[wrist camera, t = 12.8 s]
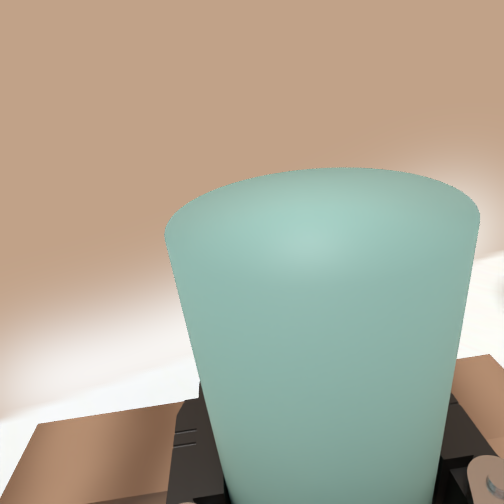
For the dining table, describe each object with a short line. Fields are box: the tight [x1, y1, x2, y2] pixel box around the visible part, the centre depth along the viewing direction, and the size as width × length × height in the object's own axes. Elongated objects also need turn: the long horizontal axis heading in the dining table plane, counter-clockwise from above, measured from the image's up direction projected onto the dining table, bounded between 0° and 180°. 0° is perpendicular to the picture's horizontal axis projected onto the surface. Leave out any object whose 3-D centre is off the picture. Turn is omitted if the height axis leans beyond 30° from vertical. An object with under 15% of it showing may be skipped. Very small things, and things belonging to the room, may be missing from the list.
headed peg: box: [164, 168, 480, 504], centre depth 10 cm, size 5×5×16 cm
